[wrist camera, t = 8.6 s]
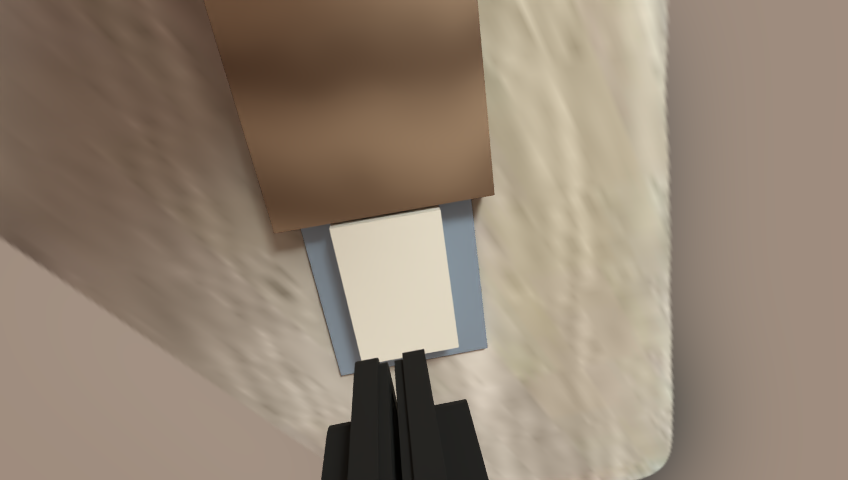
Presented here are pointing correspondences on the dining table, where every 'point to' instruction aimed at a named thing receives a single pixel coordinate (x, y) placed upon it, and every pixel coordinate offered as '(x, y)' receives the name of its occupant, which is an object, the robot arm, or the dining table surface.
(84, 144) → the dining table surface
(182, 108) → the dining table surface
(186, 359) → the dining table surface
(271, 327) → the dining table surface
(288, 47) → the plate
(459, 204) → the mat
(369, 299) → the cream rectangular block
